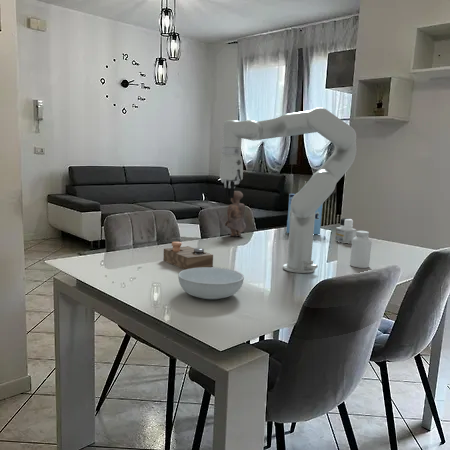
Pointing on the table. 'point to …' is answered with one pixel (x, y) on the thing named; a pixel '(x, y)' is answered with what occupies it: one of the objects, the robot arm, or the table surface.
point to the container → (345, 231)
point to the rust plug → (176, 246)
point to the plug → (198, 251)
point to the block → (187, 258)
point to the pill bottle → (360, 250)
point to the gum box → (316, 223)
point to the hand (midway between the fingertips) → (229, 197)
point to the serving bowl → (210, 282)
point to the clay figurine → (236, 215)
